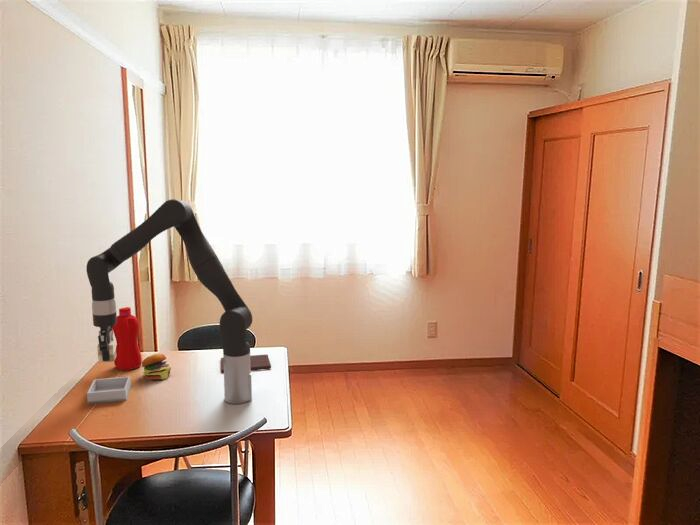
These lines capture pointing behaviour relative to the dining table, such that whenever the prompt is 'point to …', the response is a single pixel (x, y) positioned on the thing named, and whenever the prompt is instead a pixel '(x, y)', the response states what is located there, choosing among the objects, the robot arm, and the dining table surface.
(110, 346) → the birch block
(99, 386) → the grey bin
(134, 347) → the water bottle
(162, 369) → the cheeseburger
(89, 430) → the dining table surface
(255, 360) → the notebook
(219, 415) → the dining table surface
